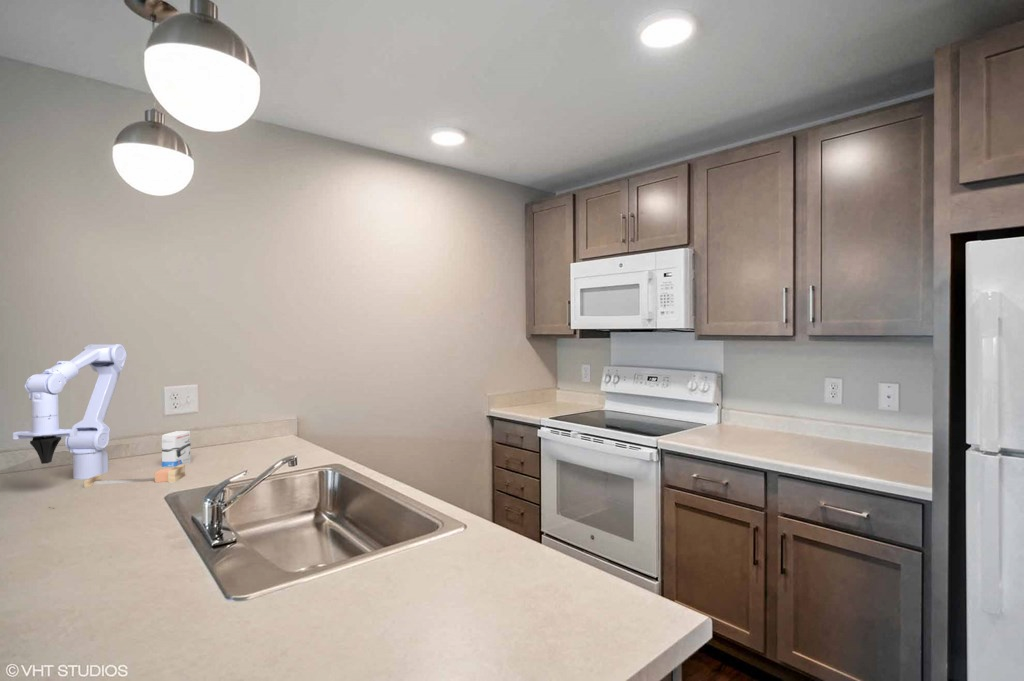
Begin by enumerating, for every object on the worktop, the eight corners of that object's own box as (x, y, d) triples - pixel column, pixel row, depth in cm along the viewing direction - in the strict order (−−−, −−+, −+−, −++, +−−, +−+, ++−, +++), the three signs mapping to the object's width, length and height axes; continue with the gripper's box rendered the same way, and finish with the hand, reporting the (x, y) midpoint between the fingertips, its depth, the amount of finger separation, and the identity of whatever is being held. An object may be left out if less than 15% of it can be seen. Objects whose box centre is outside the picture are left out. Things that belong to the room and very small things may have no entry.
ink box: (175, 469, 173) (175, 435, 173) (161, 469, 173) (160, 435, 173) (191, 463, 181) (191, 430, 181) (177, 463, 182) (177, 430, 181)
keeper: (162, 477, 160) (161, 468, 160) (176, 477, 161) (176, 467, 160) (154, 482, 155) (154, 472, 155) (169, 481, 156) (169, 472, 156)
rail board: (98, 484, 157) (97, 469, 157) (184, 479, 162) (184, 465, 162) (84, 491, 150) (84, 476, 150) (175, 485, 155) (175, 471, 155)
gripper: (4, 419, 140) (5, 468, 141) (66, 416, 144) (67, 464, 144) (22, 414, 147) (23, 461, 148) (81, 412, 151) (82, 458, 151)
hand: (46, 462), depth 146 cm, fingers closed
